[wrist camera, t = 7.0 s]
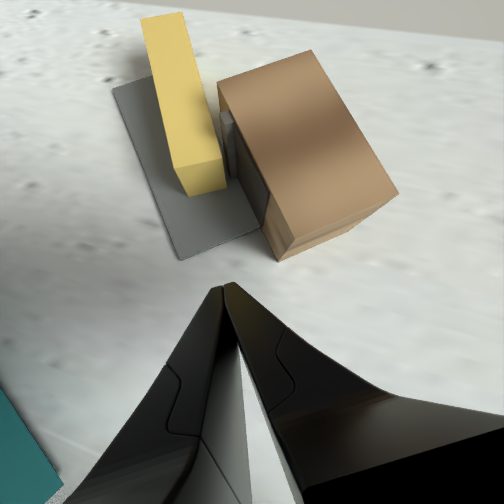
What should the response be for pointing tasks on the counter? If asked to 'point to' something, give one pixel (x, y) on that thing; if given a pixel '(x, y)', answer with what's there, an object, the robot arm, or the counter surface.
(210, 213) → the mat
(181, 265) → the counter surface
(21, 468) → the teal l-shaped bracket
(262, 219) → the brown box
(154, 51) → the yellow block
